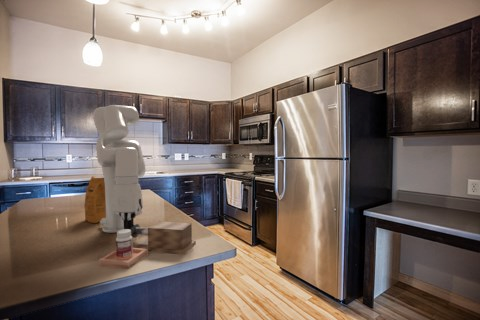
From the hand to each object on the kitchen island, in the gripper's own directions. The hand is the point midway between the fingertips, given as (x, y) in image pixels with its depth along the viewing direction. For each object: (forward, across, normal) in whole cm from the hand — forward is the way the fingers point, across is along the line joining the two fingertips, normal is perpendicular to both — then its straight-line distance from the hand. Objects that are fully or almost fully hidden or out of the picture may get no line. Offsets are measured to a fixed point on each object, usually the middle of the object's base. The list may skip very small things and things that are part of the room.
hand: (128, 229), depth 89 cm
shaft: (+3, +8, 0) cm, 9 cm away
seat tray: (+6, +7, -12) cm, 15 cm away
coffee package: (+5, -37, +25) cm, 45 cm away
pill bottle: (+5, +7, -12) cm, 15 cm away
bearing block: (+5, +13, 0) cm, 14 cm away
